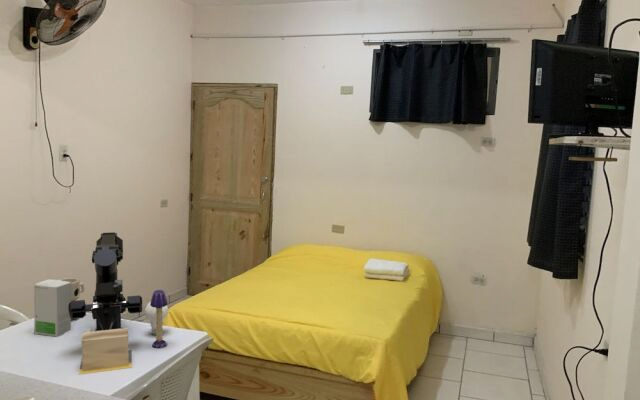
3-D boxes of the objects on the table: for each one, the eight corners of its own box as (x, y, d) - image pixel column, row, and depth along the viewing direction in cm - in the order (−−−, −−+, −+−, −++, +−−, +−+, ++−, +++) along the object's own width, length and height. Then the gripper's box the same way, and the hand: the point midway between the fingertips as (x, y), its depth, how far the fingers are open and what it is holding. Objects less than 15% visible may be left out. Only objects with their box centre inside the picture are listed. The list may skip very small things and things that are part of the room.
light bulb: (148, 330, 157) (147, 296, 156) (170, 330, 158) (169, 296, 156) (142, 339, 151) (142, 303, 149) (165, 339, 151) (165, 303, 150)
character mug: (56, 326, 159) (54, 286, 157) (46, 320, 163) (44, 281, 162) (90, 317, 167) (89, 279, 166) (79, 312, 172) (78, 275, 170)
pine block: (84, 361, 134) (83, 332, 133) (128, 355, 138) (127, 327, 137) (82, 371, 129) (81, 341, 128) (128, 365, 133) (127, 336, 132)
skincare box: (34, 334, 152) (31, 284, 150) (50, 326, 159) (48, 278, 157) (57, 337, 150) (55, 286, 149) (73, 329, 157) (71, 280, 155)
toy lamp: (171, 347, 145) (170, 291, 143) (156, 352, 142) (155, 294, 140) (162, 342, 149) (161, 287, 147) (147, 347, 145) (146, 290, 143)
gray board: (82, 357, 138) (82, 355, 138) (131, 351, 142) (131, 349, 142) (78, 375, 127) (78, 374, 127) (131, 369, 131) (131, 367, 131)
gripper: (67, 272, 135) (64, 326, 126) (141, 267, 142) (143, 318, 133) (71, 292, 144) (68, 344, 135) (141, 287, 150) (142, 336, 141)
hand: (106, 335), depth 136 cm, fingers closed
